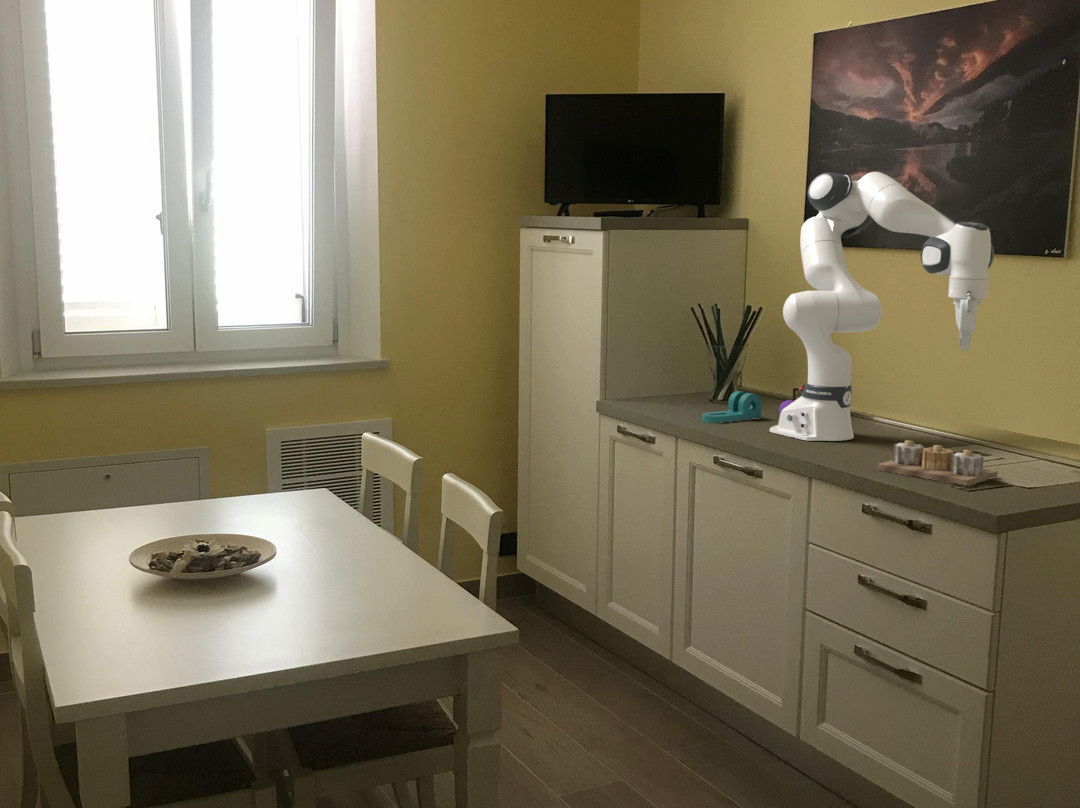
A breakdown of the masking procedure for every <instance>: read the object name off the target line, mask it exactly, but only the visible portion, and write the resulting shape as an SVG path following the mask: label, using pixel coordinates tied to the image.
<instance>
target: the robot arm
mask: <svg viewBox="0 0 1080 808" xmlns="http://www.w3.org/2000/svg"><path fill="white" fill-rule="evenodd" d="M807 198H808V201H809V203H810V204H811V206H813V208H814V209H815V210H817V211H818V214H817V215H816V216H812V217H810V218H807V220H805V221H804V223H803V224H802V225H801V229H800V237H799V238H800V239H799V241H800V242H799V243H800V254H801V255H800V256H801V263H802V267H803V274H804V278H805V280H806V282H807V283H808V285H809V286H810V287H812V288H813V289H815V290H805V291H804V290H803V291H799V292H795V293H791V294H789V296H788V297H787V299H786V300H785V302H784V304H783V307H782V314H783V315H782V316H783V317H782V318H783V320H784V322H785V325H787V327H788V328H789V329H790V330H791V331H793V332H794V333H795V334H796V335H797V336H798V337H799V339H800V340H801V342H802V344H803V346H804V348H805V350H806V357H807V382H806V383H804V384H803V385H799V386H798V387H799V388H798V389H797V390H798V391H802V392H801V393H800V395H801V396H799V397H798V398H796V399H795V400H793V401H794V402H792V403H791V404H789V405H788V406H787V407H785V408H784V409H783V410H782V411H781V414H779V418H778V423H777V425H773V426H771V427H770V428H769V432H770V433H773V434H777V435H781V436H785V437H788V438H789V437H790V438H793V437H794V439H798V440H803V441H807V442H808V441H809V442H813V441H815V442H816V441H820V442H821V441H823V442H825V441H826V442H827V441H828V442H835V441H836V442H837V441H838V442H839V441H841V442H842V441H848V440H852V439H854V438H855V437H854V436H855V435H854V433H853V429H852V427H853V426H852V419H851V402H852V394H853V393H852V392H853V389H852V388H853V386H852V384H851V380H852V379H851V375H852V362H853V361H852V357H851V354H850V353H849V352H848V351H847V350H846V349H844V348H843V347H841V346H839V345H837V344H835V343H834V342H833V341H832V338H831V333H861V332H866V331H871V330H874V329H875V328H876V327H877V326H878V325H879V324H880V322H881V320H882V317H883V306H882V303H881V300H880V298H878V296H877V295H876V294H875V293H873V292H871V291H869V290H867V289H866V288H864V287H863V286H862V285H861V284H859V283H858V282H857V281H856V280H855V278H854V277H853V275H851V272H850V271H849V269H848V266H847V263H846V259H845V253H844V248H843V244H842V238H850V237H852V236H853V235H856V234H859V233H861V232H862V231H864V230H866V229H867V228H869V226H870V225H871V224H872V222H873V220H874V222H875V223H876V224H877V225H879V226H881V227H883V228H884V229H885V230H888V231H891V232H893V233H903V234H906V233H907V234H914V235H921V236H926V237H929V238H928V239H927V240H925V242H924V243H923V245H922V247H921V251H920V262H921V265H922V268H924V270H925V271H926V272H927V273H929V274H932V275H935V276H946V275H947V276H949V281H948V294H947V296H948V298H950V299H953V303H952V304H953V305H954V310H955V312H954V313H955V323H956V327H957V329H958V331H959V346H960V350H961V351H969V350H970V343H971V337H972V333H975V332H976V329H977V316H978V315H977V313H978V306H981V305H982V300H984V299H985V300H986V299H988V295H989V294H988V293H989V279H990V276H989V271H988V270H989V268H990V267H991V266H992V264H993V261H994V259H995V249H994V246H993V243H992V239H991V238H992V237H991V232H990V228H989V227H988V226H987V225H985V224H984V223H980V222H977V221H975V222H973V221H959V222H956V221H955V220H953V219H952V218H950V217H949V216H947V215H946V214H944V212H943V213H942V211H940V210H938V209H936V208H934V207H933V206H931V205H930V204H928V203H926V202H924V201H923V200H921V199H920V198H919V197H917V196H916V195H914V194H913V193H912V192H910V191H909V190H908V189H907V188H905V186H903V185H902V184H901V183H899V182H898V181H897V180H895V179H894V178H893V177H891V176H889V175H887V174H885V173H883V172H880V171H871V172H867V173H866V174H865V175H864V174H863V176H861V178H860V179H858V180H852V177H851V176H850V175H849V174H839V173H835V172H830V171H829V172H824V173H820V174H819V175H817V176H816V177H814V179H813V180H811V182H810V184H809V186H808V188H807Z"/></svg>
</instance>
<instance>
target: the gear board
mask: <svg viewBox="0 0 1080 808" xmlns="http://www.w3.org/2000/svg"><path fill="white" fill-rule="evenodd" d="M932 447H933V451H937V452H942V450H943V448H944V447H943V445H940V444H935V445H934V444H933V446H932ZM923 448H925V446H924V445H923V444H919V443H918V444H917V443H915V441H914V440H909V439H908V440H906V439H905V440H904V442H898V443H894V444H893V453H892V454H893V456H892V457H893V458H892V459H890V460H886V461H883V462H879V463H876V471H879V470H882V471H881V472H884V471H887V472H886V473H890V472H892V473H891V474H895V473H898V474H897V475H900V474H904V475H903V476H906V475H910V476H909V477H911V476H916V477H921V478H927V479H933V480H938V481H944V482H949V483H957V484H963V485H969V484H972V483H975V482H978V481H981V480H985V479H989V478H993V477H997V478H998V473H999V472H998V470H994V469H987V468H984V459H985V457H984V456H983V455H982V454H980V453H973V452H974V451H973V450H969V449H963V450H962V452H961V451H960V452H955V453H953V454H952V461H951V470H949V469H948V470H945V471H941V470H930V469H927V468H923V467H922V450H923ZM916 477H915V478H916ZM921 478H920V479H921ZM927 479H926V480H927Z"/></svg>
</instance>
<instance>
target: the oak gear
mask: <svg viewBox="0 0 1080 808" xmlns="http://www.w3.org/2000/svg"><path fill="white" fill-rule="evenodd" d="M952 454H954V451H953V449H948V448H944V447H943V450H942V452H937V451H933V446H931V447H924V448H923V450H922V467H923V468H927V469H930V470H941V471H945V470H948V469H949V470H951V461H952Z"/></svg>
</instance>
